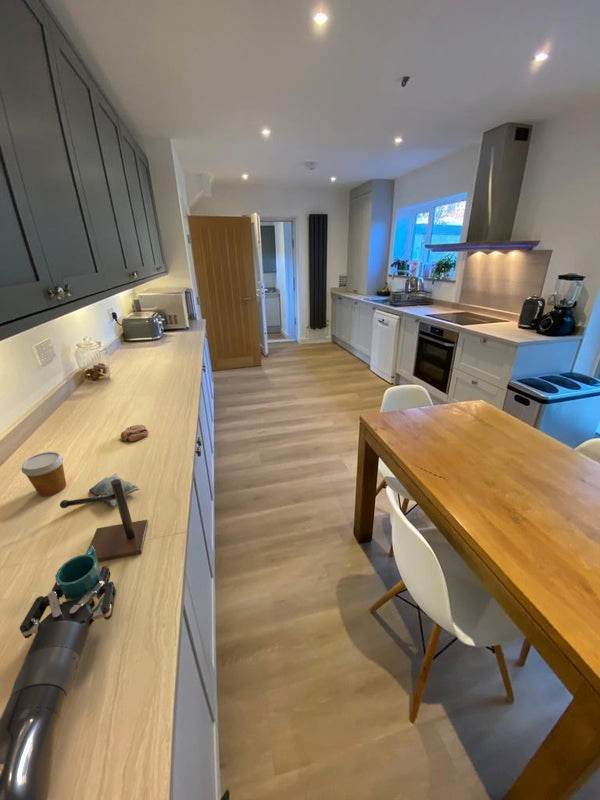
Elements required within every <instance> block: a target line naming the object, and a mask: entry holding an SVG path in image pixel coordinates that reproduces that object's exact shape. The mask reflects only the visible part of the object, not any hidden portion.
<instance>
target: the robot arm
mask: <svg viewBox="0 0 600 800" xmlns="http://www.w3.org/2000/svg"><path fill="white" fill-rule="evenodd" d="M100 571H101V572H100V575H99V578H98V581H97V582H98V583H97V584H96V586H95V587H94V588H93V589H92V590H91V591H88V592H87V593H86V594H85V595H84V596H83V597H82V598H79V599H76V600H73V601H65V600H64V601H63V602H61V600H60V598H61V599H62V598H63V596H62V594H61V591H60V589H59V587H58V584H57V582H56V581H55V583H54V585H53V587H52V589H51V591H50V592H48V594H46V595H45V596H43V595H41V596H38V597H36V598H35V600H34V602H33V604H32V605H31V607H30V609H29V610H28V612H27V613H26V615H25V617H24V619H23V621H22V622H21V624H20V626H19V630H20V633H21V635H22V636H23V637H24V639H29V638H30V637H32V636H33V635H34V634H35V635H34V638H33V640H32V642H31V644H30V647H29V648H28V651H27V653H26V655H25V657H24V660H23V662H22V664H21V667H20V669H19V671H18V673H17V675H16V678H15V680H14V683H13V686H12V689H11V693H10V695H9V698H8V701H7V703H6V705H5V707H4V709H3V712H2V714H1V716H0V765H3V766H2V770H1V772H0V800H49V795H50V788H51V781H52V780H51V778H52V766H53V757H54V745H55V733H56V728H57V725H58V723H59V720H60V717H61V714H62V710H63V707H64V704H65V701H66V698H67V695H68V693H69V690H70V689H71V686H72V683H73V681H74V679H75V676H76V672H77V670H78V668H79V664H80V663H79V662H80V659H81V656H82V653H83V650H84V647H85V644H86V640H87V637H88V633H89V629H90V627H91V625H92V624H93V623H94V621H95V620H98V619H102V618H104V620H105V621H108V620H110V619H111V618H112V617H113V612H114V606H115V601H116V596H117V589H116V586H115V583H114V582H113V581H110V580H111V579H110V578H111V576H112V574H111V570H110V567H109V568H108V566H107V565H103V566H102V567H101V568H100ZM103 596H104V599H103V603H101V604H100V606H99V608H98V609H97V610H96V611H95V612H93V610H94V609H95V608H96V606H97V605H98V604H99V601H100V599H101V598H102V597H103ZM88 601H90V604H88ZM48 607H50V610H51V612H49V614H47V616H45V617H44V618H43V616H44V613H45V612H46V610H47V608H48ZM42 618H43V619H42Z"/></svg>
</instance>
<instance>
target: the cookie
mask: <svg viewBox="0 0 600 800" xmlns="http://www.w3.org/2000/svg"><path fill="white" fill-rule="evenodd" d="M148 436H149V430H148V428H147V427H146V426H145V425H144V424H135V425H134V424H133V425H131V426H129V427H126V428H125V430H123V431H122V432H121V433H120V439H121V440H122V441H123V442H138V441H140V440H142V439H145V438H147V437H148Z"/></svg>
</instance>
